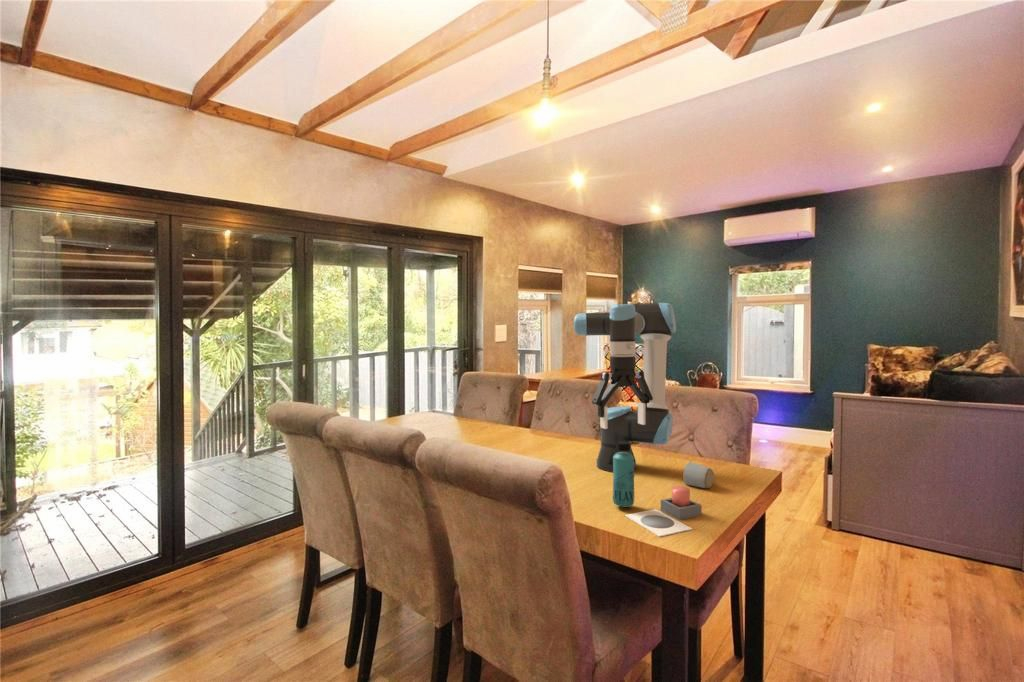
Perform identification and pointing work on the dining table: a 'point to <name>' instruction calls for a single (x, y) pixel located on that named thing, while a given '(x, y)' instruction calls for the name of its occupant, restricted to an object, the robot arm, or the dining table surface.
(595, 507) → the dining table surface
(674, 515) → the button base
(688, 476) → the ceramic mug
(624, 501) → the beverage bottle
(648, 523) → the paper card
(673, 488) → the button
